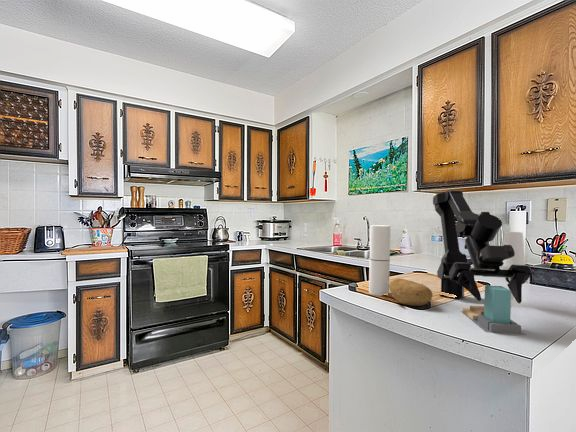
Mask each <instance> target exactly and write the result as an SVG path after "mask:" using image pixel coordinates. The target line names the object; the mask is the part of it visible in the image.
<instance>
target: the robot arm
mask: <svg viewBox="0 0 576 432" xmlns="http://www.w3.org/2000/svg"><path fill="white" fill-rule="evenodd" d="M432 204H433V206H434V210H435V212H436V213H437V215H439V216H440V222H441V230H442V239H443V246H444V247H443V248H444V254H443V255H442V257H441V260H440V264H439V267H438V269H437V270H436V271H437V272H436V273H437V274H436V275H437V278H438V279H440V280H441V281H440V293H441V292H445V293H449V294H454V295H456V296H457V297H455V300H460V299H461V298H463V297H464V296H465V290H467V291H468V292H469V293H470V295H472V296H473V297H474V298H475V299H476V300H477V301H478V302H481V301H482V296H481V292H480V290H479V288H478V285H477V282H476V279H475V277H476V276H477V277H479V276H480V277H484V278H485V277H488V278H505V281H506V282H507V284H506V285H507V287H508V289H509V290H511V293H512V295H513V296H514V300H516V301H517V302H518V303H520V304H522V294H523V293H522V289H523V288H522V287H523V285H525V283H526V282H527V281H528V280H529V279H530V277H531V276H532V275H533V274H534V272H533V270H532V268H531V267H530V266H529V265H526V264H525V265H511V266H510V268H509V269H508V270H503V269H502V268H500V267H501V266H502V265H503V264H504V263H503V260H505V259H508V258H511V257H513V256H514V255H515V252H514V249H513V247H512V246H511V245H504V246H503V245H491V244H490V242H493V241H494V240H495V238H496V236H497V235H498V232H499V231H500V229H501V227H502V226H503V222H502V219H500V218H499V217H497V216H496V215H493V214H491V213H490V211H481V212H480V214H477V213H475V212H473V211H472V209H471V208H470V206H469V204H468V202H467V200H466V198H465V197H464V194H463V191H462V190H459V189H458V190H457V189H453V190H451V189H448V190H445V191H444V192H441V193H439V192H438V193H437V194H435V195H434V196H433V198H432ZM458 236H459V237H466V238H465V239H464V243H465V244H464V250H467V251H468V254H469V258H470V259H469V262H468V261H467V255H466V254H465V253H462V252H461V250H460V245H459V237H458ZM471 264H472V265H473V267H472V265H471Z"/></svg>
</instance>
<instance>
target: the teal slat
mask: <svg viewBox="0 0 576 432" xmlns="http://www.w3.org/2000/svg"><path fill="white" fill-rule="evenodd" d="M483 302H484V305H483V306H484V316H485V317H486V318H488V319H489V320H490V321H492V323H503V324H510V319H511V313H512V312H511V309H512V306H511V290H510V289H509V288H507V287H505V286H502V285H487V284H486V285H484V301H483Z"/></svg>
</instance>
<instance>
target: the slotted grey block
mask: <svg viewBox="0 0 576 432" xmlns="http://www.w3.org/2000/svg"><path fill="white" fill-rule="evenodd" d="M460 312H461V313H462V314H463V315H464V316H466V317H467V318H468V319H469V320H470V321H472V322H473V323H474V324H475V325H476V326H478V327H479V328H481V330H483V331H484V332H485V333H491V334H492V333H494V334H495V333H496V334H507V335H522V336H527V334H526V333H524V332H523V331H522V325H520V324H518V323H517V322H515V321H514V320H512V319H511V318H510V324H503V323H492V321H490V320H489V319H488V318H486V317H485V316H483V315H482V314H478V320H473V319H471V318H470V317H469V316H468V315H466V314H465V313H464V312H463V311H462V310H460Z"/></svg>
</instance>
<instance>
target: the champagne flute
mask: <svg viewBox="0 0 576 432" xmlns="http://www.w3.org/2000/svg"><path fill="white" fill-rule="evenodd" d="M503 236H504V237H503V243H502V246H504V245H511V246H512V247H513V249H514V252H515V255H514V256H513V257H511V258H508V259H505V260H503V263H504V264H503V265H502V266H500V267H501V270H508V269H509V268H510V266H511V265H526V255H525V245H524V233H523V232H520V231H504V235H503ZM511 307H519V308H520V307H525V306H524V305H523V304H522V303H518V302H517V301H516V300H515V298H514V296H513V295H512V293H511Z"/></svg>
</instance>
